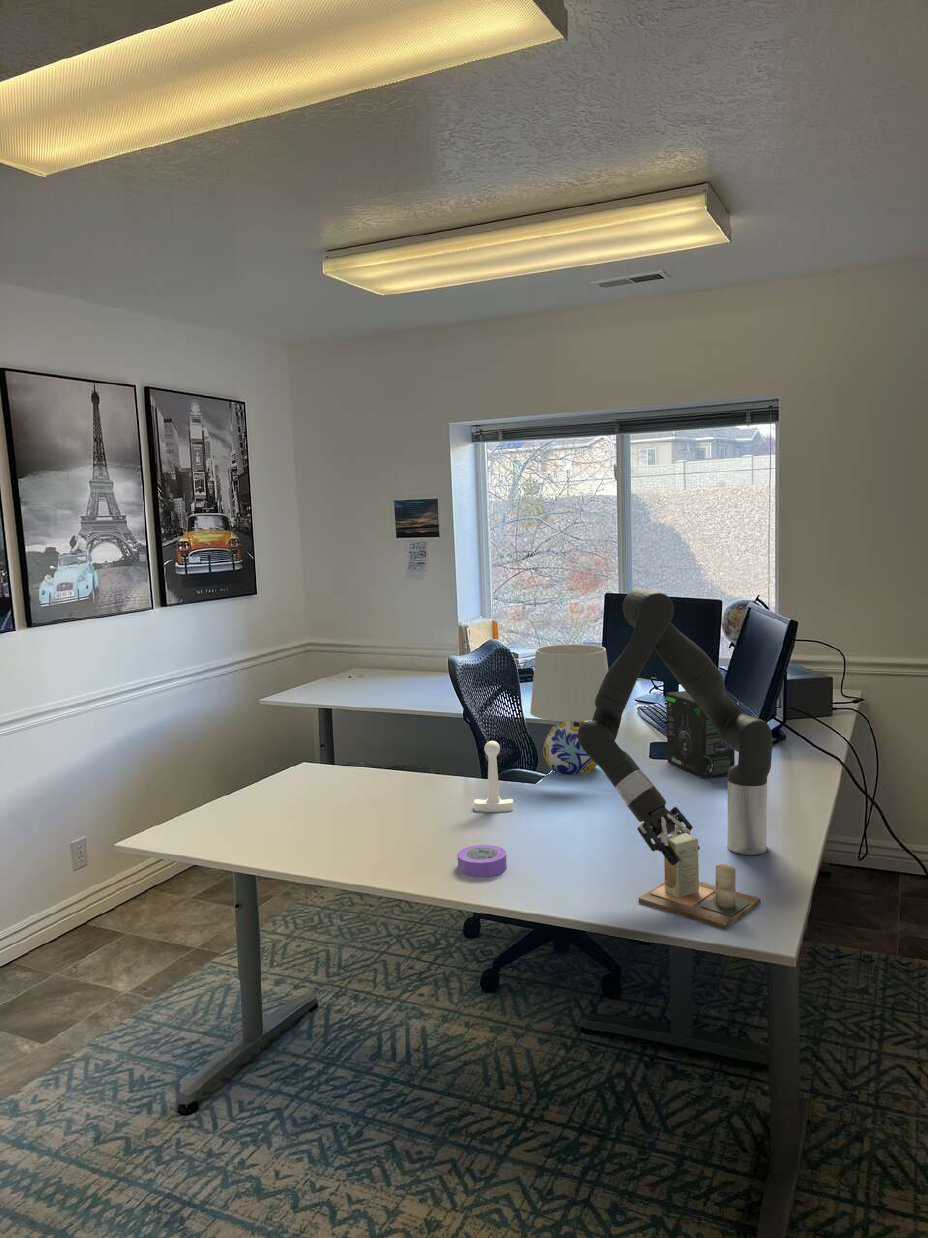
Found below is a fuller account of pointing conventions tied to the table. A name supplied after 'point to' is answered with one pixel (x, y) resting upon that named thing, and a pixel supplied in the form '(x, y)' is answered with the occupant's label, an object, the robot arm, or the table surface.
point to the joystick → (493, 784)
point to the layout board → (707, 900)
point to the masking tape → (482, 861)
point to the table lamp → (567, 700)
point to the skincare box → (682, 866)
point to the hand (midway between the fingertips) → (686, 857)
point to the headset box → (695, 739)
